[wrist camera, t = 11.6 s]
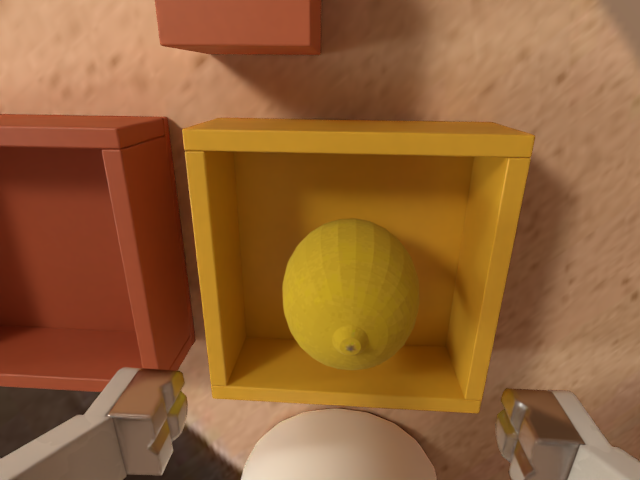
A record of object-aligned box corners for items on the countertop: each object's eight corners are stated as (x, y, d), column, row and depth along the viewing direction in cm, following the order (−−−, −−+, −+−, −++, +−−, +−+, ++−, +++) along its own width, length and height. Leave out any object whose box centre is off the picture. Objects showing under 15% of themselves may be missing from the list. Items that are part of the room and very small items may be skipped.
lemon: (285, 283, 21) (251, 392, 14) (309, 184, 19) (285, 250, 12) (386, 309, 22) (405, 430, 14) (421, 213, 19) (465, 297, 12)
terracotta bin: (-84, 112, 20) (-200, 121, 16) (167, 116, 19) (116, 127, 15) (-9, 330, 24) (-82, 382, 20) (195, 340, 24) (163, 396, 20)
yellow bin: (217, 117, 19) (180, 128, 15) (493, 122, 18) (536, 135, 14) (236, 342, 24) (211, 399, 19) (455, 353, 23) (479, 414, 19)
